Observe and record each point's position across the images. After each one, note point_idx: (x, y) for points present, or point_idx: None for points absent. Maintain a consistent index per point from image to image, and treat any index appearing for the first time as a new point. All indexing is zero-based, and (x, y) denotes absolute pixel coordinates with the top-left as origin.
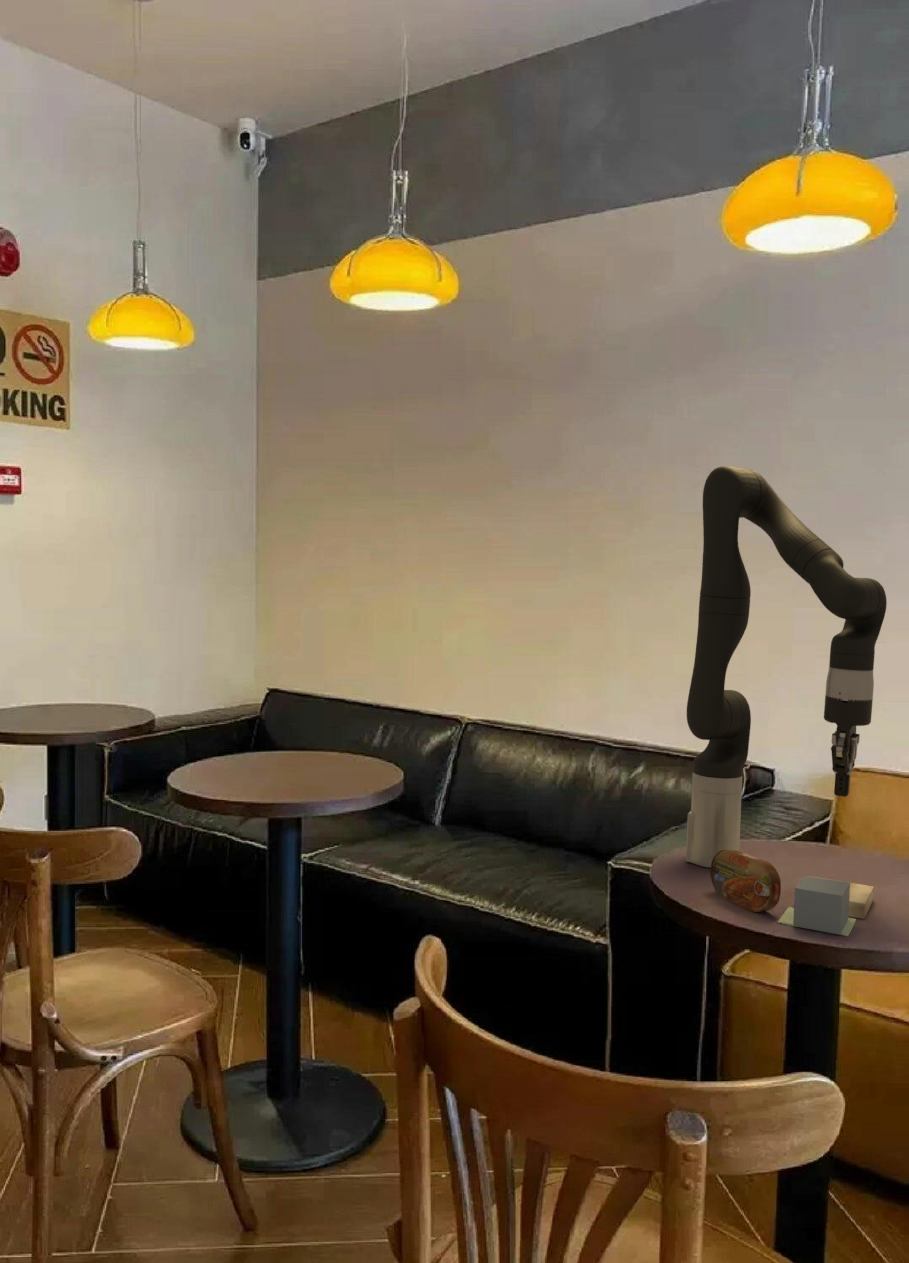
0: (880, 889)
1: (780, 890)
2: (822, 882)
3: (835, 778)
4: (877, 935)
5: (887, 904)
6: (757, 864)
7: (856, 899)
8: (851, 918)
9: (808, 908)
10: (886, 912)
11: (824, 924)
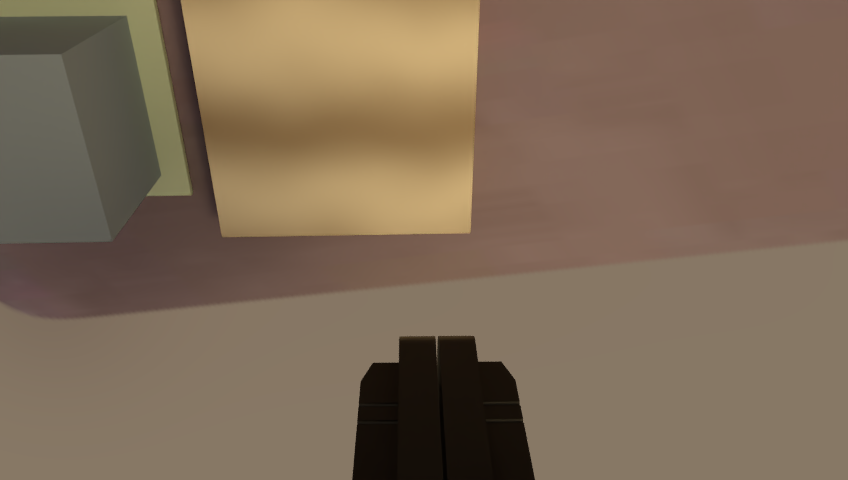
0: (633, 208)
1: None
2: (15, 147)
3: (398, 445)
4: (100, 263)
5: (456, 248)
6: None
7: (254, 206)
8: (184, 182)
9: None
10: (361, 256)
11: None
